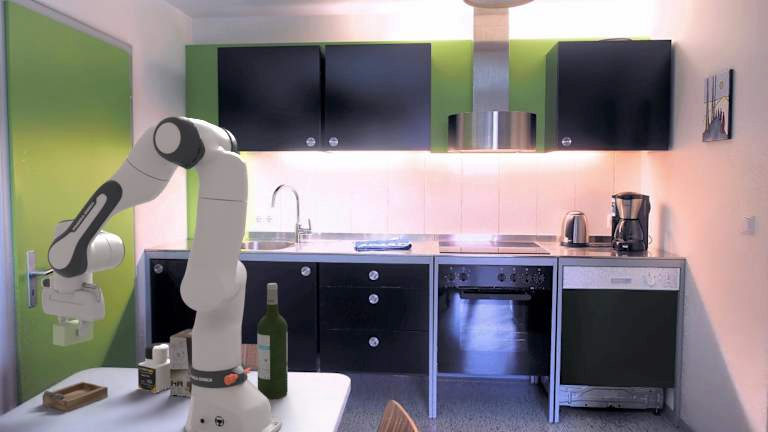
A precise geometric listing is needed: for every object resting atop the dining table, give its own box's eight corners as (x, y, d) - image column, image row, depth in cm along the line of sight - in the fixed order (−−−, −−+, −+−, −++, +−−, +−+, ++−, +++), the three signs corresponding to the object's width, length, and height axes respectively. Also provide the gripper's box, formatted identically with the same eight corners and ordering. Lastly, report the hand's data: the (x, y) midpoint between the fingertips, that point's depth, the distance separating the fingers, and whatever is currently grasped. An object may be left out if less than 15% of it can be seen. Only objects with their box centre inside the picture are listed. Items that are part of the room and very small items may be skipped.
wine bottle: (293, 391, 149) (293, 282, 148) (276, 401, 142) (275, 287, 141) (269, 387, 152) (269, 280, 151) (251, 396, 145) (250, 284, 144)
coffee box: (191, 397, 144) (190, 337, 144) (169, 395, 146) (168, 336, 145) (208, 385, 153) (208, 329, 153) (188, 384, 155) (187, 327, 154)
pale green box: (93, 339, 144) (93, 320, 144) (64, 346, 137) (64, 326, 137) (82, 337, 146) (82, 318, 146) (53, 344, 139) (52, 324, 139)
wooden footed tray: (107, 396, 145) (107, 382, 145) (66, 412, 134) (65, 397, 134) (82, 390, 149) (82, 377, 149) (40, 405, 139) (40, 390, 139)
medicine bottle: (137, 389, 151) (137, 346, 150) (159, 381, 157) (158, 340, 156) (155, 393, 147) (155, 349, 147) (176, 385, 154) (176, 343, 153)
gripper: (111, 283, 139) (111, 336, 140) (60, 276, 148) (60, 327, 149) (88, 286, 133) (89, 342, 134) (36, 279, 142) (37, 332, 143)
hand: (73, 334), depth 141 cm, fingers closed on pale green box, 4 cm apart
